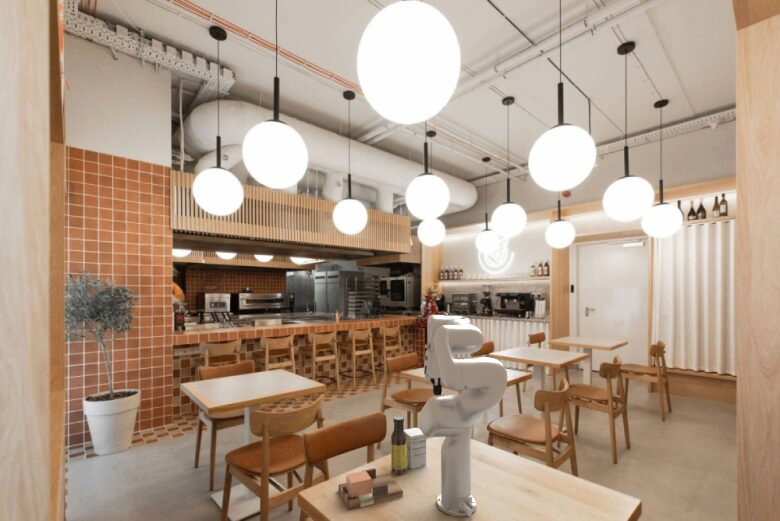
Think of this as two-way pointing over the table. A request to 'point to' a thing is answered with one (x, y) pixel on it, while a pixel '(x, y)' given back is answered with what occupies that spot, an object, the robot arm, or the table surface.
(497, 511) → the table surface
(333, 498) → the table surface
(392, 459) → the sauce bottle
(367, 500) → the tunnel board
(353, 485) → the terracotta block
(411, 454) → the supplement box
